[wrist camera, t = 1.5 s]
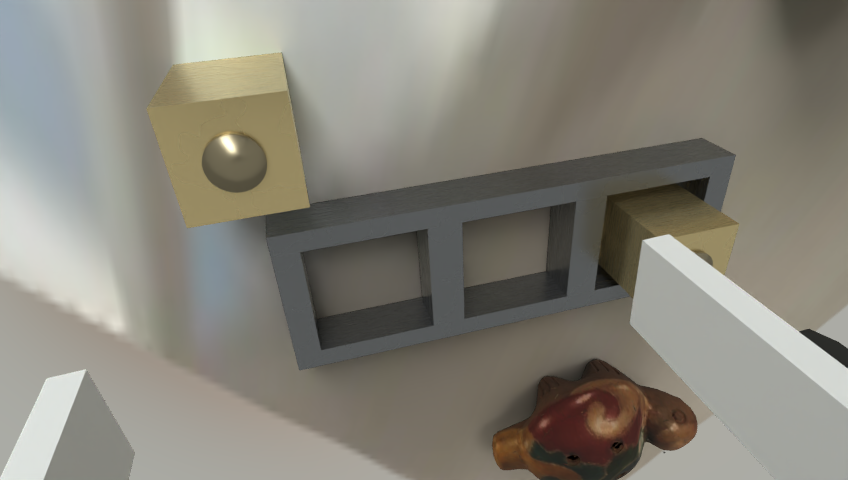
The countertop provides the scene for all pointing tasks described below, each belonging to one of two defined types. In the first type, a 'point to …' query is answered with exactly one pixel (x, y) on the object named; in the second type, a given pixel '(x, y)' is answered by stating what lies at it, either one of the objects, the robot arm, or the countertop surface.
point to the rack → (443, 246)
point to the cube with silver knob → (230, 139)
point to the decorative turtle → (593, 427)
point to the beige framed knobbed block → (661, 229)
